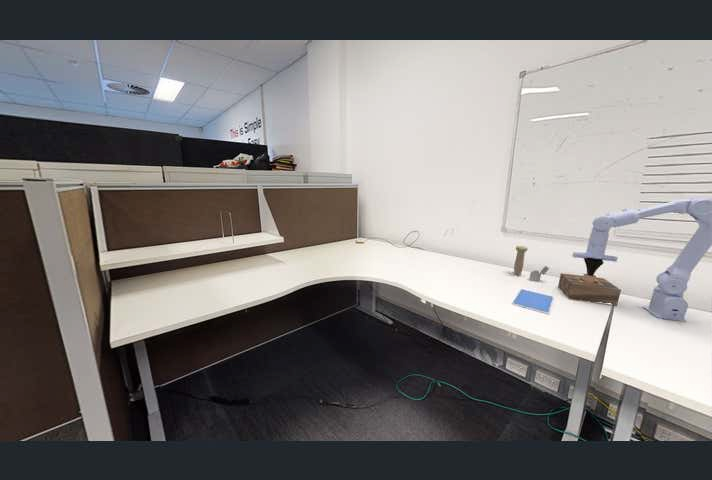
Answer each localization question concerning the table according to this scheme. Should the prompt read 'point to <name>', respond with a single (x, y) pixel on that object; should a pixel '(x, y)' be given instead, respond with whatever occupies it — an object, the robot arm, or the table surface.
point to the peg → (589, 278)
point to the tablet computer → (534, 301)
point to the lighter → (538, 274)
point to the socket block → (588, 289)
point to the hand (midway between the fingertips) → (589, 275)
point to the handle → (519, 259)
